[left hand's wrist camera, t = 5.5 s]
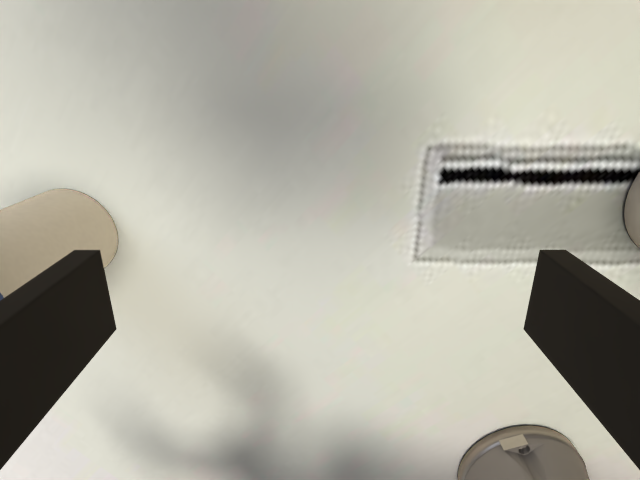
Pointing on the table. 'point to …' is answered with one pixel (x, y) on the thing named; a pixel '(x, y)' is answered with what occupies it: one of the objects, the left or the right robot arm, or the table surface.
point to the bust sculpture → (633, 211)
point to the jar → (51, 234)
